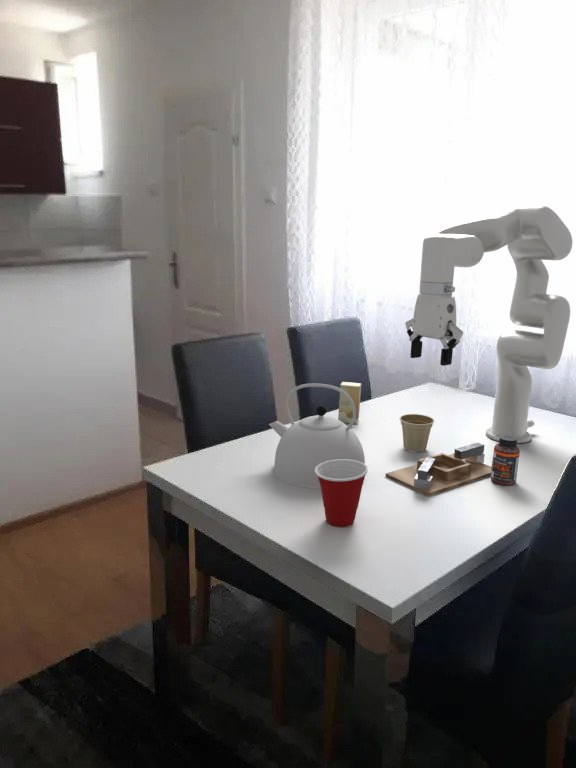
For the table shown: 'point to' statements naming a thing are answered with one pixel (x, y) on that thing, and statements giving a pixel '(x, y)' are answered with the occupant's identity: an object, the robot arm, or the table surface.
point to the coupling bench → (442, 473)
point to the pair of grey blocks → (468, 453)
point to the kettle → (313, 443)
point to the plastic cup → (341, 489)
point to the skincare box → (345, 404)
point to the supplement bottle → (505, 461)
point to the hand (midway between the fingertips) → (430, 361)
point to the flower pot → (416, 431)
